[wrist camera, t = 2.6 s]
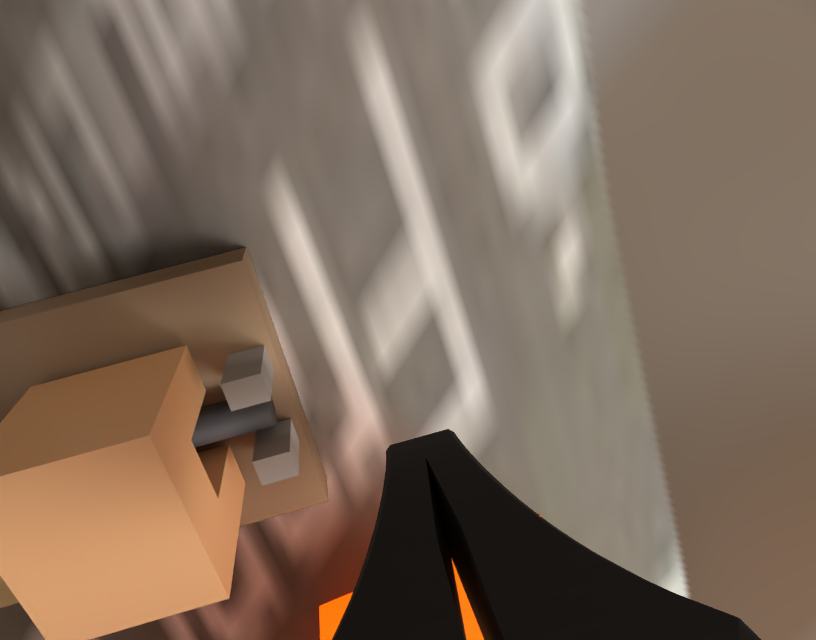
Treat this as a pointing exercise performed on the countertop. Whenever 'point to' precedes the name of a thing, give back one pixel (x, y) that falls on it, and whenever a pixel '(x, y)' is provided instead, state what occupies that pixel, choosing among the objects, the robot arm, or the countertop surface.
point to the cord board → (213, 357)
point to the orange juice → (336, 608)
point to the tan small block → (115, 499)
